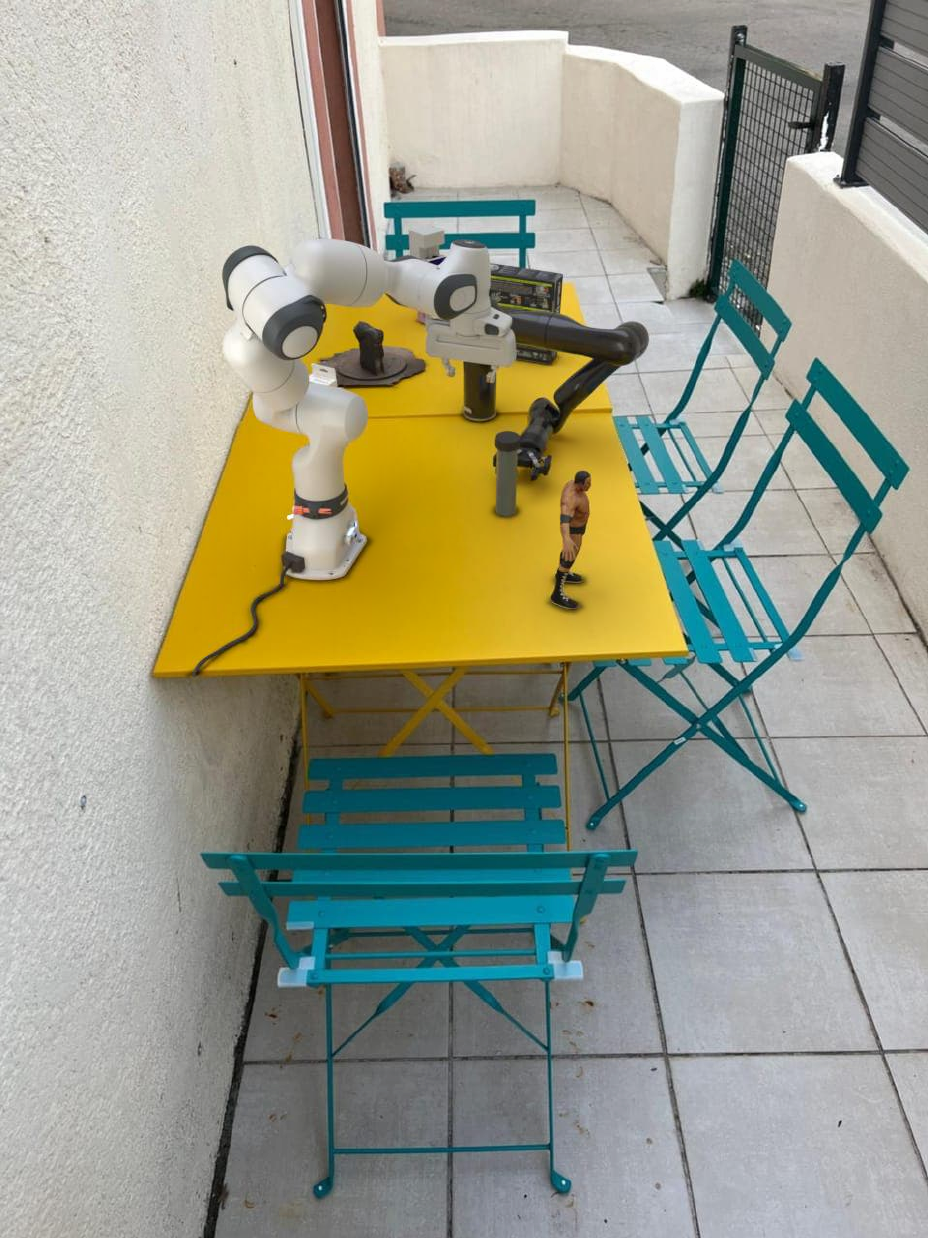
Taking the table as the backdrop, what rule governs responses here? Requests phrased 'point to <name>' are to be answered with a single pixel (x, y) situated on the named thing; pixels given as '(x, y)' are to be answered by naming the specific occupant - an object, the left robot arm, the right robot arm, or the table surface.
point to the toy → (426, 249)
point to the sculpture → (372, 360)
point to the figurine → (571, 534)
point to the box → (527, 299)
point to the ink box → (323, 375)
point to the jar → (506, 482)
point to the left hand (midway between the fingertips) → (470, 378)
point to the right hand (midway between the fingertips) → (514, 475)
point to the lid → (507, 441)
